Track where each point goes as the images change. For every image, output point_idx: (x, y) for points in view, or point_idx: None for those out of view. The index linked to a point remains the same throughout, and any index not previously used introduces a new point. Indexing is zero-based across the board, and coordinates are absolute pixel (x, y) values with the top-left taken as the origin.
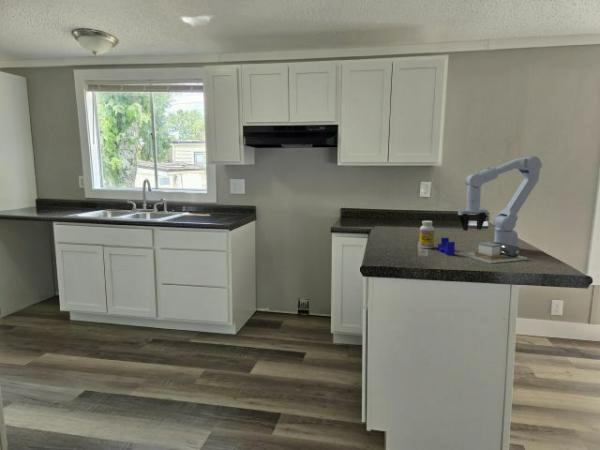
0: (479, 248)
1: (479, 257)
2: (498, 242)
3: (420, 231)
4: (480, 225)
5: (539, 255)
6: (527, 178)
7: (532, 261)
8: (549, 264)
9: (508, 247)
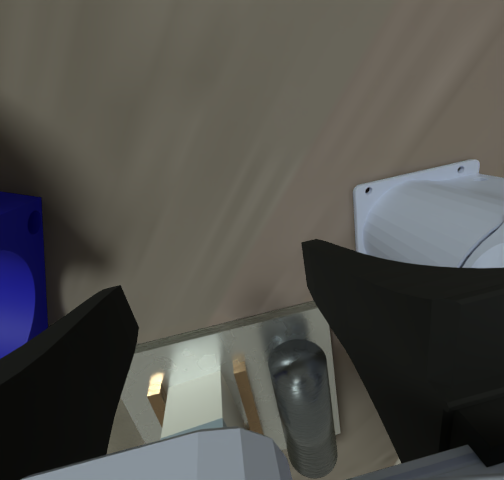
0: (166, 421)
1: (144, 439)
2: (308, 396)
3: None
4: (328, 315)
5: None
6: None
7: (336, 440)
8: (355, 469)
9: (295, 456)
